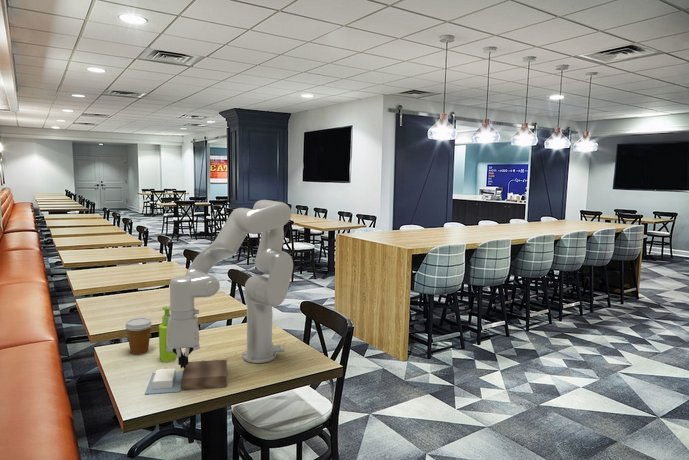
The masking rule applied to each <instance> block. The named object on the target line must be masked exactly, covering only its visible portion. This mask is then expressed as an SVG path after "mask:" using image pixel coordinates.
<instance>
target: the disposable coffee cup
mask: <svg viewBox="0 0 689 460" xmlns="http://www.w3.org/2000/svg"><path fill="white" fill-rule="evenodd" d="M152 325H153V322H152V321H151V318H147V317H137V318H131V319H129V320H127V321H126V324H125V325H124V327H125V330H126V334H127V338H128V345H129V350H130V353H131V354H132V355H138V356H139V355H143V354H146V353H148V352H149V348H150V339H151V330H152V329H151V328H152Z"/></svg>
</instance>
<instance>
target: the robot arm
mask: <svg viewBox="0 0 689 460" xmlns="http://www.w3.org/2000/svg"><path fill="white" fill-rule="evenodd" d="M291 217H292V209H291V207H290V206H289V205H288V204H287V203H285V202H283V201H277V200H275V201H274V200H268V199H259V200H258V201H256V202H254V205H253V207H252V208H247V207H238V208H235V209H234V210H232V211H231V213H230V214H229V216H228V218H227V220H226V221H225V223H224V224H223V226H222V228H221V229H220V231H219V232H218V235H217V236H216V238H214V240H213V242H212V243H211V244H209V245H208V246H207V247H206V248H204V249H203V250H202V251H200V253H198V255H196V257H195V258H194V259H193V261H192V263H191V264H190V265H189V267H188V269H187V271H186V273H185V275H178V276H175V277H172V278H171V279H170V280H169V281H170V282H169V295H170V296H169V302H170V304H169V305H170V306H169V307H170V317H169V319H168V325H167V340H166V342H167V347H166V351H170V352H174V353H175V354H176V357H177V358H178V359H177V360H178V363H177V364H178V366H180V369H184V368H186V365H187V364H188V362H189V356H190V354H191V353H192V352H194V351H198V350H200V348H201V346H200V327H199V321H198V319H199V318H198V316H197V315H199V314H200V310H199V309H197V308H195V299H198V298H210V297H213V296H215V295H216V294H217V293H218V291H220V286H221V285H220V281H219V280H218V278H217V277H216V276H214V275H212V274H209V273H210V271H211V269H213V267H214V266H215V265H216V264H217V263H219V262H220V261H223V260H225V259H228V258H231V257H233V256H235V255H236V254H237V252H238V250H239V249H240V247H241V246H242V244H243V242H244V240H245V238H246V237H247V235H248V234H250V235H259V234H261V235H260V239H259V245H258V248H257V252H256V256H255V261H254V265H255V267H256V269H257V270H258V271H259V272H262V273H263V274H268V277H267V276H264V275H256V274H255V275H252V276H250V277H249V278H248V279H247V280H246V282H245V284H244V291H243V292H244V296H245V302H246V303H245V304H246V350H245V351H244V352H243V353H242V359H243V360H244V361H246V362H248V363H254V364H261V363H262V364H264V363H268V362H271V361H273V360H274V359H276V357H277V353H285V346H281V345H280V344H279V345H278V344H277V345H274V344H273V318H274V317H273V314H274V313H273V307H274V308H275V307H278V306H281V305H282V303H283V302H284V301H285V299H286V298H287V294H288V289H289V286H290V282H291V279H292V275H293V270H294V261H293V258H292V256H291V254H289V253H288V252H286V251H283V250H282V249H283V245H284V240H285V239H284V238H285V232H284V227H283V226H285V225H286V224H288V223H289V221H290V220H291ZM182 349H185V351H184V353H183V352H182Z"/></svg>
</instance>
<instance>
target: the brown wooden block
mask: <svg viewBox="0 0 689 460" xmlns="http://www.w3.org/2000/svg"><path fill="white" fill-rule="evenodd" d="M182 371H183V375H182V379H181V381H182V384H181V391H193V390H206V389H207V390H208V389H220V388H227V379H228V378H227V377H228V375H227V374H228V373H227V372H228V361H227V359H214V360H211V359H210V360H199V361H188V364H187V365H186V368H183V370H182Z"/></svg>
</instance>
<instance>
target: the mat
mask: <svg viewBox="0 0 689 460" xmlns="http://www.w3.org/2000/svg"><path fill="white" fill-rule="evenodd" d="M155 374H156V372H152V374H151V376H150V379H149V382H148V385H147V387H146V390H145V392H144V396H146V395H147V396H149V395H157V394H158V395H160V394H172V393H180V392H181V390H182V381H181V379H182V375H183V370H179V371H178V370H177V371H176V376H175V380H174V384H173V387H172V388H160V389H153V379H154V376H155Z"/></svg>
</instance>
